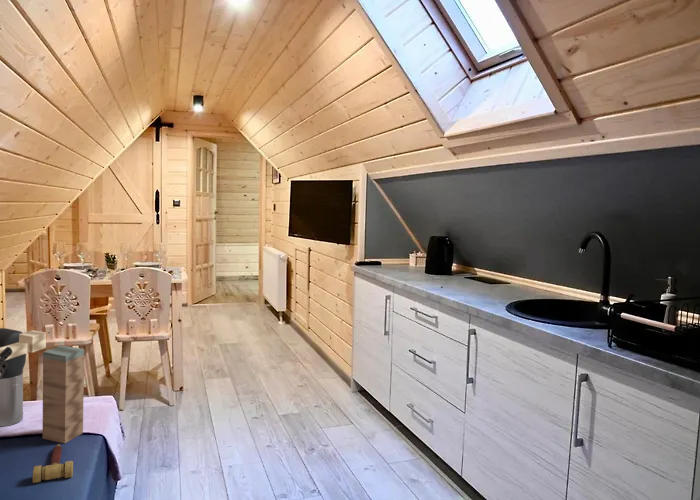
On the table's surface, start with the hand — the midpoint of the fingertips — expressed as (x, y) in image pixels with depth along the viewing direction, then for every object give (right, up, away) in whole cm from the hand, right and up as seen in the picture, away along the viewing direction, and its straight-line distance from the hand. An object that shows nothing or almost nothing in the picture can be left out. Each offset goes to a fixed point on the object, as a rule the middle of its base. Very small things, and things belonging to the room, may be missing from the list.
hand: (5, 348), depth 149 cm
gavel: (+10, -38, +9) cm, 40 cm away
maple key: (+1, -3, +4) cm, 5 cm away
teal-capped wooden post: (+2, -35, +26) cm, 43 cm away
